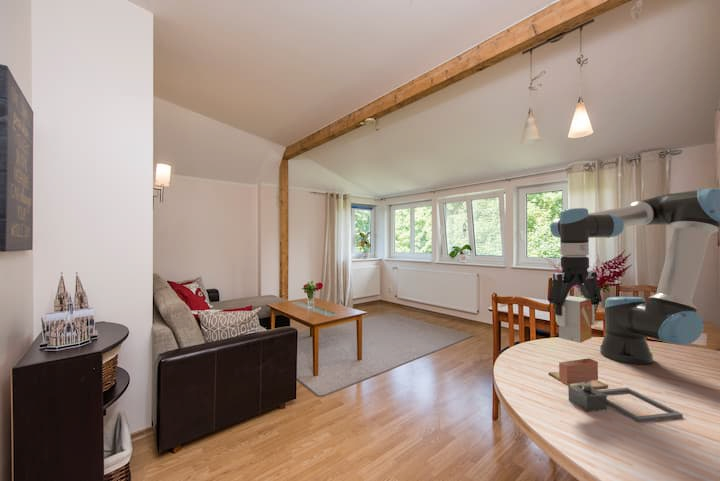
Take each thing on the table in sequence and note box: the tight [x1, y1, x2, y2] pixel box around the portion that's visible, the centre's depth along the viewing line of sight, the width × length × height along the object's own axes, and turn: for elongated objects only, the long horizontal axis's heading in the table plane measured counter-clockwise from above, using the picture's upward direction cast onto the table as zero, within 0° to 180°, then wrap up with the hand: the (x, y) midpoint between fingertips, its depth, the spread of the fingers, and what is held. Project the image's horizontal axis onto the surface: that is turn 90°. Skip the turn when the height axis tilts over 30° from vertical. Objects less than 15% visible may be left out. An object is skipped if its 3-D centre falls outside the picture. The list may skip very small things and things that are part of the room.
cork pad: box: [548, 371, 609, 389], centre depth 97 cm, size 11×11×1 cm
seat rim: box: [597, 387, 684, 423], centre depth 83 cm, size 13×14×1 cm
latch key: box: [558, 357, 599, 391], centre depth 83 cm, size 2×10×8 cm, turn 104°
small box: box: [558, 295, 592, 344], centre depth 98 cm, size 8×6×13 cm
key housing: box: [567, 385, 608, 413], centre depth 83 cm, size 6×6×4 cm
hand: (575, 324), depth 97 cm, fingers closed on small box, 10 cm apart
